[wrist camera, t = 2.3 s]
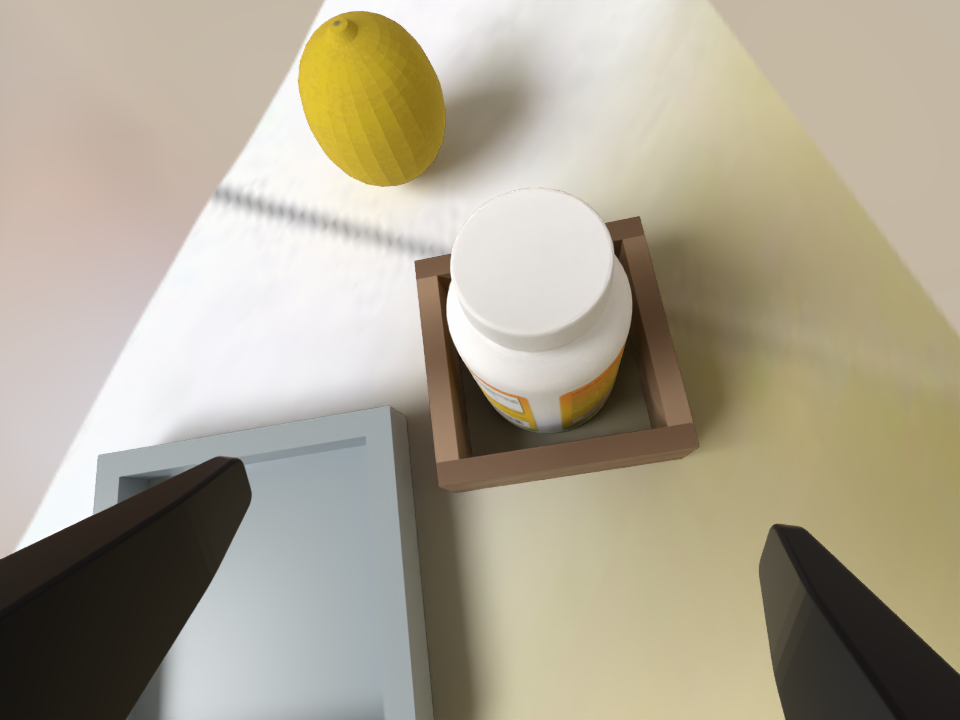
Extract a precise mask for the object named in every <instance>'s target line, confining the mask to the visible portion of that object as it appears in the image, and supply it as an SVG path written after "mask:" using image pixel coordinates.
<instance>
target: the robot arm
mask: <svg viewBox="0 0 960 720" xmlns="http://www.w3.org/2000/svg"><path fill="white" fill-rule="evenodd" d="M251 499H252V491H251V487H250V483H249V480H248V476H247V473H246V469H245V466H244V463H243V461H242V460H241V459H240V458H237V457H230V456H216V457H214V458H212V459H210V460H208V461H205V462H203V463H201V464H199V465H197V466H195V467H193V468H191V469H189V470H187V471H184V472H182V473H180V474H178V475H176V476H174V477H172V478H170V479H168V480H166V481H164V482H161V483H159V484H157V485H155V486H153V487H151V488H149V489H147V490H145V491H143V492H141V493H138V494H136V495H134V496H132V497H130V498H128V499H126V500H124V501H122V502H120V503H118V504H115V505H113V506H111V507H109V508H107V509H105V510H103V511H101V512H99V513H97V514H94V515H92V516H90V517H88V518H86V519H84V520H82V521H80V522H78V523H76V524H74V525H71V526H69V527H67V528H65V529H63V530H61V531H59V532H57V533H55V534H53V535H51V536H48V537H46V538H44V539H42V540H40V541H38V542H36V543H34V544H32V545H30V546H28V547H25V548H23V549H21V550H19V551H17V552H15V553H13V554H11V555H9V556H7V557H5V558H2V559H0V720H126V719H127V718H128V716H129V715H130V713H131V711H132V710H133V708H134V707H135V705H136V703H137V702H138V700H139V698H140V697H141V695H142V694H143V692H144V690H145V689H146V687H147V686H148V684H149V682H150V681H151V679H152V678H153V676H154V674H155V673H156V671H157V669H158V668H159V666H160V665H161V663H162V661H163V660H164V658H165V657H166V655H167V653H168V652H169V650H170V648H171V647H172V645H173V644H174V642H175V640H176V639H177V637H178V636H179V634H180V632H181V631H182V629H183V628H184V626H185V624H186V623H187V621H188V619H189V618H190V616H191V615H192V613H193V611H194V610H195V608H196V607H197V605H198V603H199V602H200V600H201V598H202V597H203V595H204V594H205V592H206V590H207V589H208V587H209V585H210V583H211V582H212V580H213V578H214V576H215V574H216V573H217V571H218V569H219V567H220V565H221V563H222V561H223V559H224V557H225V555H226V553H227V551H228V549H229V547H230V545H231V543H232V541H233V539H234V536H235V534H236V532H237V530H238V528H239V526H240V524H241V522H242V520H243V518H244V516H245V514H246V512H247V510H248V508H249V506H250V503H251ZM759 578H760V585H761V591H762V598H763V605H764V612H765V619H766V625H767V632H768V639H769V646H770V653H771V659H772V665H773V671H774V676H775V681H776V685H777V689H778V693H779V697H780V701H781V705H782V708H783V712H784V716H785V720H960V674H959V673H958V672H957V671H955V670H954V669H953V668H952V667H951V666H950V665H949V664H948V663H947V662H946V661H945V660H944V659H943V658H942V657H941V656H940V655H938V654H937V653H936V652H935V651H934V650H933V649H932V648H931V647H930V646H929V645H928V644H927V643H926V642H925V641H924V640H923V639H922V638H920V637H919V636H918V635H917V634H916V633H915V632H914V631H913V630H912V629H911V628H910V627H909V626H908V625H907V624H906V623H905V622H903V621H902V620H901V619H900V618H899V617H898V616H897V615H896V614H895V613H894V612H893V611H892V610H891V609H890V608H889V607H888V606H886V605H885V604H884V603H883V602H882V601H881V600H880V599H879V598H878V597H877V596H876V595H875V594H874V593H873V592H872V591H871V590H870V589H868V588H867V587H866V586H865V585H864V584H863V583H862V582H861V581H860V580H859V579H858V578H857V577H856V576H855V575H854V574H853V573H851V572H850V571H849V570H848V569H847V568H846V567H845V566H844V565H843V564H842V563H841V562H840V561H839V560H838V559H837V558H836V557H834V556H833V555H832V554H831V553H830V552H829V551H828V550H827V549H826V548H825V547H824V546H823V545H822V544H821V543H820V542H819V541H818V540H816V539H815V538H814V537H813V536H812V535H811V534H810V533H809V532H808V531H807V530H806V529H804V528H802V527H799V526H793V525H785V524H774V525H773V526H772V527H771V528H770V530H769V533H768V536H767V540H766V543H765V546H764V549H763V552H762V556H761V559H760V564H759Z"/></svg>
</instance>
